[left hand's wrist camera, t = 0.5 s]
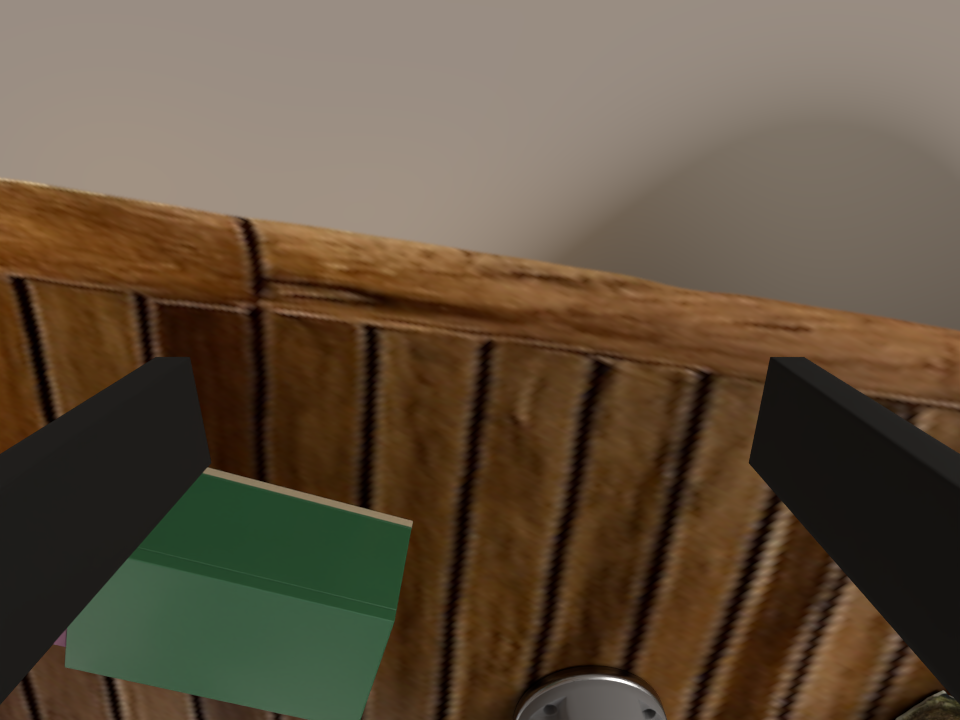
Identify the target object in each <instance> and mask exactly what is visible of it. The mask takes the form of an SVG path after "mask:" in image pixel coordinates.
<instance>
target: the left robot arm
mask: <svg viewBox="0 0 960 720" xmlns="http://www.w3.org/2000/svg"><path fill="white" fill-rule="evenodd" d="M210 464H211V459H210V454H209V449H208V444H207V440H206V435H205V430H204V425H203V420H202V415H201V410H200V405H199V400H198V395H197V390H196V386H195V381H194V376H193V371H192V366H191V361H190V357H155V358H154V359H152V360H151V361H149V362H147V363H146V364H144V365H143V366H141V367H139V368H138V369H136V370H134V371H133V372H131V373H130V374H128V375H126V376H125V377H123V378H122V379H120V380H118V381H117V382H115V383H114V384H112V385H110V386H109V387H107V388H106V389H104V390H102V391H101V392H99V393H98V394H96V395H94V396H93V397H91V398H90V399H88V400H86V401H85V402H83V403H82V404H80V405H78V406H77V407H75V408H73V409H72V410H70V411H69V412H67V413H65V414H64V415H62V416H61V417H59V418H57V419H56V420H54V421H53V422H51V423H49V424H48V425H46V426H45V427H43V428H41V429H40V430H38V431H37V432H35V433H33V434H32V435H30V436H29V437H27V438H25V439H24V440H22V441H21V442H19V443H17V444H16V445H14V446H12V447H11V448H9V449H8V450H6V451H4V452H3V453H1V454H0V704H1V703H2V702H3V701H4V700H5V699H6V697H7V696H8V695H9V694H10V693H11V692H12V691H13V689H14V688H15V687H16V686H17V685H18V684H19V683H20V681H21V680H22V679H23V678H24V677H25V676H26V675H27V673H28V672H29V671H30V670H31V669H32V668H33V666H34V665H35V664H36V663H37V662H38V661H39V660H40V658H41V657H42V656H43V655H44V654H45V653H46V652H47V650H48V649H49V648H50V647H51V646H52V645H53V644H54V642H55V641H56V640H57V639H58V638H59V637H60V636H61V634H62V633H63V632H64V631H65V630H66V629H67V628H68V626H69V625H70V624H71V623H72V622H73V621H74V620H75V618H76V617H77V616H78V615H79V614H80V613H81V612H82V610H83V609H84V608H85V607H86V606H87V605H88V604H89V602H90V601H91V600H92V599H93V598H94V597H95V595H96V594H97V593H98V592H99V591H100V590H101V589H102V587H103V586H104V585H105V584H106V583H107V582H108V581H109V579H110V578H111V577H112V576H113V575H114V574H115V573H116V571H117V570H118V569H119V568H120V567H121V566H122V565H123V563H124V562H125V561H126V560H127V559H128V558H129V557H130V555H131V554H132V553H133V552H134V551H135V550H136V549H137V547H138V546H139V545H140V544H141V543H142V542H143V541H144V539H145V538H146V537H147V536H148V535H149V534H150V533H151V531H152V530H153V529H154V528H155V527H156V526H157V525H158V523H159V522H160V521H161V520H162V519H163V518H164V516H165V515H166V514H167V513H168V512H169V511H170V510H171V508H172V507H173V506H174V505H175V504H176V503H177V502H178V500H179V499H180V498H181V497H182V496H183V495H184V494H185V492H186V491H187V490H188V489H189V488H190V487H191V486H192V484H193V483H194V482H195V481H196V480H197V479H198V478H199V476H200V475H201V474H202V473H203V472H204V471H205V470H206V468H207V467H208V466H209V465H210ZM749 464H750V465H751V466H752V467H753V468H754V470H755V471H756V472H757V473H758V474H759V475H760V476H761V478H762V479H763V480H764V481H765V482H766V483H767V484H768V486H769V487H770V488H771V489H772V490H773V491H774V492H775V494H776V495H777V496H778V497H779V498H780V499H781V500H782V502H783V503H784V504H785V505H786V506H787V507H788V508H789V510H790V511H791V512H792V513H793V514H794V515H795V516H796V518H797V519H798V520H799V521H800V522H801V523H802V525H803V526H804V527H805V528H806V529H807V530H808V531H809V533H810V534H811V535H812V536H813V537H814V538H815V539H816V541H817V542H818V543H819V544H820V545H821V546H822V547H823V549H824V550H825V551H826V552H827V553H828V554H829V555H830V557H831V558H832V559H833V560H834V561H835V562H836V563H837V565H838V566H839V567H840V568H841V569H842V570H843V571H844V573H845V574H846V575H847V576H848V577H849V578H850V579H851V581H852V582H853V583H854V584H855V585H856V586H857V587H858V589H859V590H860V591H861V592H862V593H863V594H864V596H865V597H866V598H867V599H868V600H869V601H870V602H871V604H872V605H873V606H874V607H875V608H876V609H877V610H878V612H879V613H880V614H881V615H882V616H883V617H884V618H885V620H886V621H887V622H888V623H889V624H890V625H891V626H892V628H893V629H894V630H895V631H896V632H897V633H898V634H899V636H900V637H901V638H902V639H903V640H904V641H905V642H906V644H907V645H908V646H909V647H910V648H911V649H912V650H913V652H914V653H915V654H916V655H917V656H918V657H919V658H920V660H921V661H922V662H923V663H924V664H925V665H926V666H927V668H928V669H929V670H930V671H931V672H932V673H933V675H934V676H935V677H936V678H937V679H938V680H939V681H940V683H941V684H942V685H943V686H944V687H945V688H946V689H947V691H948V692H949V693H950V694H951V695H952V696H953V697H954V699H955V700H956V701H957V702H958V703H959V704H960V454H959V453H957V452H956V451H954V450H952V449H951V448H949V447H948V446H946V445H944V444H943V443H941V442H939V441H938V440H936V439H935V438H933V437H931V436H930V435H928V434H927V433H925V432H923V431H922V430H920V429H919V428H917V427H915V426H914V425H912V424H911V423H909V422H907V421H906V420H904V419H903V418H901V417H899V416H898V415H896V414H895V413H893V412H891V411H890V410H888V409H887V408H885V407H883V406H882V405H880V404H878V403H877V402H875V401H874V400H872V399H870V398H869V397H867V396H866V395H864V394H862V393H861V392H859V391H858V390H856V389H854V388H853V387H851V386H850V385H848V384H846V383H845V382H843V381H842V380H840V379H838V378H837V377H835V376H834V375H832V374H830V373H829V372H827V371H826V370H824V369H822V368H821V367H819V366H817V365H816V364H814V363H813V362H811V361H809V360H808V359H806V358H805V357H770V361H769V366H768V371H767V376H766V381H765V386H764V390H763V395H762V400H761V405H760V410H759V415H758V420H757V425H756V430H755V435H754V440H753V444H752V449H751V454H750V459H749ZM513 720H667V719H666V715H665V712H664V709H663V706H662V703H661V700H660V698H659V696H658V695H657V693H656V692H655V690H654V689H653V688H652V687H651V686H650V685H649V684H648V683H647V682H645V681H644V680H643V679H641V678H640V677H638V676H636V675H634V674H632V673H629V672H627V671H624V670H621V669H616V668H612V667H605V666H582V667H575V668H570V669H566V670H562V671H559V672H557V673H554V674H552V675H549V676H547V677H545V678H544V679H542V680H540V681H539V682H537V683H536V684H534V685H533V686H532V687H531V688H529V689H528V690H527V691H526V692H525V694H524V695H523V696H522V697H521V699H520V701H519V702H518V704H517V706H516V709H515V712H514V717H513Z"/></svg>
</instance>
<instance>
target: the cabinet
mask: <svg viewBox="0 0 960 720" xmlns="http://www.w3.org/2000/svg"><path fill="white" fill-rule="evenodd" d="M412 524H413V521H411V520H407V519H403V518H399V517H395V516H391V515H388V514H384V513H380V512H376V511H372V510H368V509H365V508H361V507H357V506H353V505H349V504H345V503H342V502H338V501H334V500H330V499H326V498H323V497H319V496H315V495H311V494H307V493H303V492H300V491H296V490H292V489H288V488H284V487H280V486H277V485H273V484H269V483H265V482H261V481H257V480H254V479H250V478H246V477H242V476H238V475H234V474H231V473H227V472H223V471H219V470H215V469H211V468H208V467H207V468H206V470H205V471H204V472H203V473H202V474H201V475H200V476H199V478H198V479H197V480H196V481H195V482H194V483H193V484H192V486H191V487H190V488H189V489H188V490H187V491H186V492H185V494H184V495H183V496H182V497H181V498H180V499H179V500H178V502H177V503H176V504H175V505H174V506H173V507H172V508H171V510H170V511H169V512H168V513H167V514H166V515H165V516H164V518H163V519H162V520H161V521H160V522H159V523H158V525H157V526H156V527H155V528H154V529H153V530H152V531H151V533H150V534H149V535H148V536H147V537H146V538H145V539H144V541H143V542H142V543H141V544H140V545H139V546H138V547H137V549H136V550H135V551H134V552H133V553H132V554H131V555H130V557H129V558H128V559H127V560H126V561H125V562H124V563H123V565H122V566H121V567H120V568H119V569H118V570H117V571H116V573H115V574H114V575H113V576H112V577H111V578H110V579H109V581H108V582H107V583H106V584H105V585H104V586H103V587H102V589H101V590H100V591H99V592H98V593H97V594H96V595H95V597H94V598H93V599H92V600H91V601H90V602H89V604H88V605H87V606H86V607H85V608H84V609H83V610H82V612H81V613H80V614H79V615H78V616H77V617H76V618H75V620H74V621H73V622H72V623H71V624H70V625H69V626H68V628H67V637H66V654H65V667H67V668H71V669H76V670H81V671H85V672H90V673H95V674H99V675H104V676H109V677H113V678H118V679H123V680H127V681H132V682H137V683H141V684H146V685H150V686H155V687H160V688H164V689H169V690H174V691H178V692H183V693H188V694H192V695H197V696H202V697H206V698H211V699H216V700H220V701H225V702H229V703H234V704H239V705H243V706H248V707H253V708H257V709H262V710H267V711H271V712H276V713H281V714H285V715H290V716H295V717H299V718H304V719H309V720H361V717H362V714H363V711H364V708H365V705H366V702H367V699H368V696H369V694H370V691H371V688H372V685H373V682H374V679H375V676H376V673H377V670H378V667H379V665H380V662H381V659H382V656H383V653H384V650H385V647H386V644H387V641H388V639H389V636H390V633H391V630H392V627H393V624H394V621H395V615H396V610H397V604H398V599H399V593H400V588H401V583H402V577H403V572H404V566H405V561H406V555H407V550H408V544H409V539H410V534H411V528H412Z"/></svg>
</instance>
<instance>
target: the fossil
mask: <svg viewBox="0 0 960 720" xmlns="http://www.w3.org/2000/svg"><path fill="white" fill-rule="evenodd" d="M896 720H960V704H959V703H958V702H957V701H956V700H955V699H954V697H952V696H949V695H948V694H947V693H946V692H945V691H944V690H943V691H941V692H939V693H936V694H934V695H932V696H930V697H928V698H926V699H925V700H924V701H923V702H921V703H919V704H917V705H916V706H914V707H913V708H911V709H910V710H909V711H907V712H906V713H904V714H903V715H901V716H899V717H897V718H896Z"/></svg>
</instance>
